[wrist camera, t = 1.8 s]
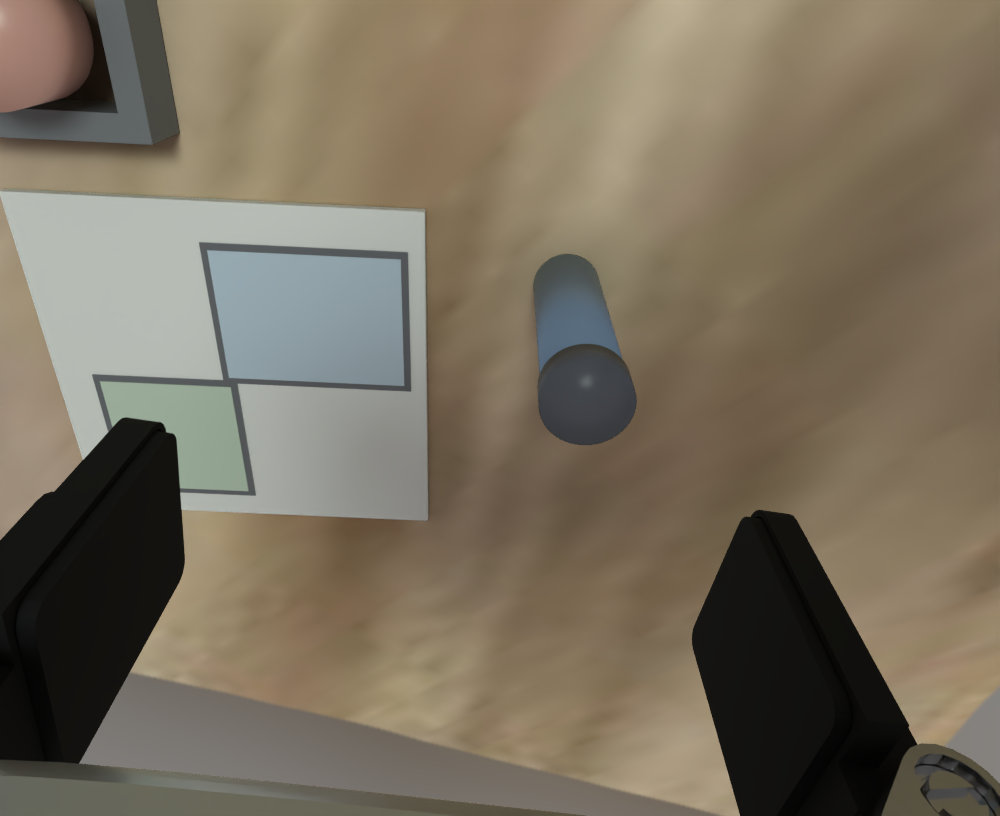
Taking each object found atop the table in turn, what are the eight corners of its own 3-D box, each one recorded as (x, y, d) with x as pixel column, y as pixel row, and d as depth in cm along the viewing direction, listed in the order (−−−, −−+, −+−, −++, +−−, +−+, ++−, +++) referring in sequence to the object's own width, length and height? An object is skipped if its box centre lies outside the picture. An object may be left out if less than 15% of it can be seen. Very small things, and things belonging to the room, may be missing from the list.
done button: (74, -46, 23) (25, -49, 20) (107, 103, 25) (67, 116, 23) (-66, -53, 22) (-130, -57, 20) (-20, 97, 25) (-73, 109, 23)
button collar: (140, -88, 24) (105, -94, 22) (179, 132, 28) (152, 144, 25) (-70, -98, 24) (-124, -106, 22) (-3, 123, 27) (-45, 135, 25)
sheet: (425, 209, 29) (424, 212, 28) (428, 515, 37) (427, 522, 37) (4, 188, 29) (-4, 191, 28) (101, 501, 37) (96, 507, 37)
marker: (605, 253, 30) (643, 363, 21) (597, 319, 31) (629, 447, 23) (533, 250, 30) (542, 358, 21) (528, 316, 31) (535, 442, 23)
